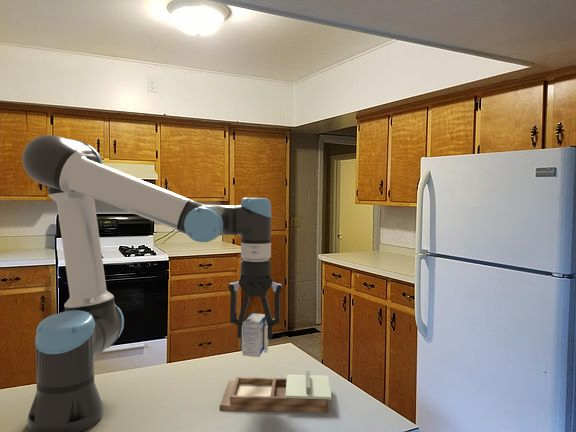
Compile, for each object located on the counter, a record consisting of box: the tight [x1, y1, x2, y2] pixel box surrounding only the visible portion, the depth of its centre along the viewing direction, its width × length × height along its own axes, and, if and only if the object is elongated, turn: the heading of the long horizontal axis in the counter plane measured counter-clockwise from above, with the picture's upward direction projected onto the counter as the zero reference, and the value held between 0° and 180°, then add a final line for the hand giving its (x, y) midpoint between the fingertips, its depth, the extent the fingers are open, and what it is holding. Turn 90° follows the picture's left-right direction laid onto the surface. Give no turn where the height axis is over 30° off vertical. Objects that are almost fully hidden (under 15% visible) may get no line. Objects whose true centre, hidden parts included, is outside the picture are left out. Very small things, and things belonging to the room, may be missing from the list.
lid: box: [285, 370, 332, 400], centre depth 113 cm, size 11×12×2 cm
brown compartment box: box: [219, 376, 329, 414], centre depth 113 cm, size 26×14×3 cm, turn 88°
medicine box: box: [241, 313, 267, 358], centre depth 112 cm, size 8×4×9 cm, turn 169°
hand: (254, 350), depth 112 cm, fingers closed on medicine box, 5 cm apart
